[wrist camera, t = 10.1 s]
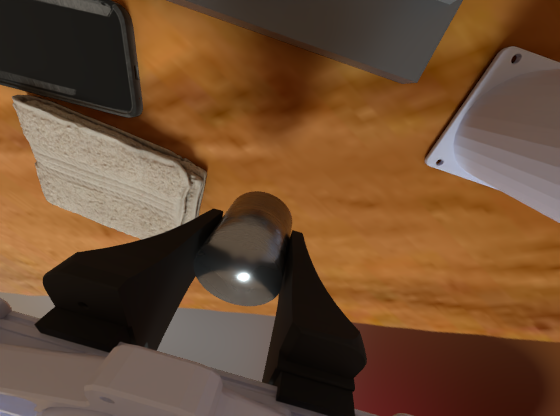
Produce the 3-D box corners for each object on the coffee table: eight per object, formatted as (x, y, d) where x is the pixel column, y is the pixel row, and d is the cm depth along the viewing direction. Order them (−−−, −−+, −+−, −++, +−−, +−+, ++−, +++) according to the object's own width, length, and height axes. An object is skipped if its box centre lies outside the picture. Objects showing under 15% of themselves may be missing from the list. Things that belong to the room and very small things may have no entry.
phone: (-81, -49, 14) (121, 2, 14) (-56, -40, 15) (134, 7, 15) (-21, 80, 19) (138, 121, 18) (-5, 80, 19) (147, 120, 19)
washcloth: (198, 245, 27) (185, 262, 24) (61, 194, 26) (32, 206, 23) (214, 162, 21) (199, 173, 18) (35, 91, 20) (-9, 92, 17)
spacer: (301, 204, 13) (294, 260, 9) (281, 252, 15) (268, 315, 11) (235, 182, 13) (196, 227, 9) (225, 233, 15) (190, 290, 11)
